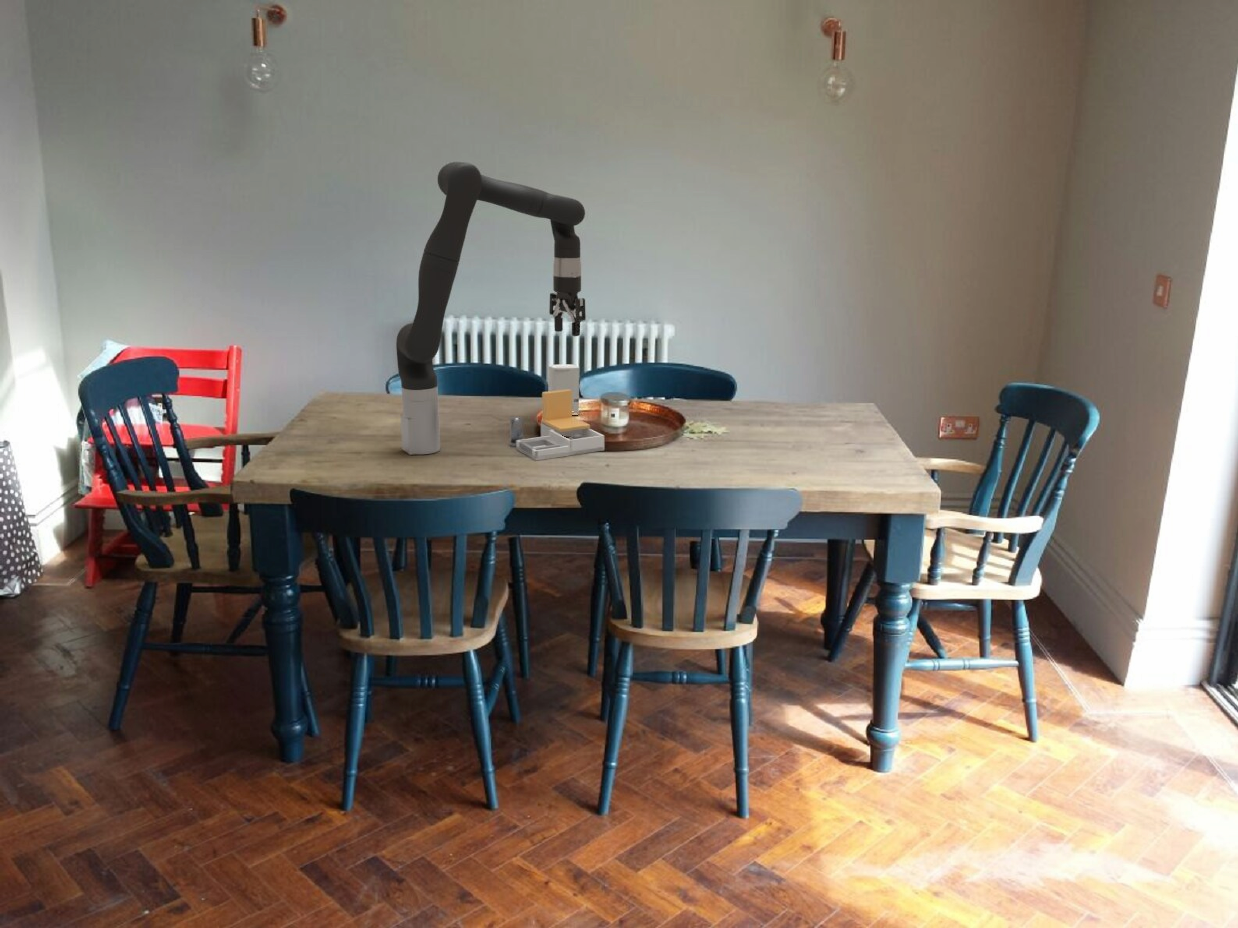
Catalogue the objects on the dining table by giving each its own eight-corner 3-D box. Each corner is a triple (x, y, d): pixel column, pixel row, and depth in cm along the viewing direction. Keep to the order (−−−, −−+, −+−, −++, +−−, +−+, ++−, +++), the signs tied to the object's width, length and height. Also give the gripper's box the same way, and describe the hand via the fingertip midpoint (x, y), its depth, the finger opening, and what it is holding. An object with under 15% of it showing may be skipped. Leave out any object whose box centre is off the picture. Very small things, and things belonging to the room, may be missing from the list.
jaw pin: (513, 447, 301) (512, 420, 299) (507, 444, 305) (506, 417, 303) (526, 445, 303) (526, 418, 301) (520, 442, 307) (520, 415, 304)
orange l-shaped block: (560, 431, 300) (560, 401, 298) (541, 422, 310) (540, 392, 308) (590, 427, 304) (590, 397, 302) (570, 418, 315) (569, 389, 312)
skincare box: (552, 418, 332) (551, 368, 328) (547, 413, 338) (546, 364, 334) (580, 416, 335) (579, 366, 330) (574, 411, 340) (574, 362, 336)
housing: (535, 460, 290) (535, 445, 289) (504, 442, 306) (503, 428, 305) (604, 450, 299) (604, 435, 298) (570, 433, 316) (570, 419, 315)
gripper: (541, 272, 310) (541, 331, 314) (570, 277, 299) (570, 338, 303) (564, 270, 314) (564, 329, 318) (593, 276, 303) (593, 336, 307)
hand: (567, 333), depth 311 cm, fingers open, 8 cm apart
